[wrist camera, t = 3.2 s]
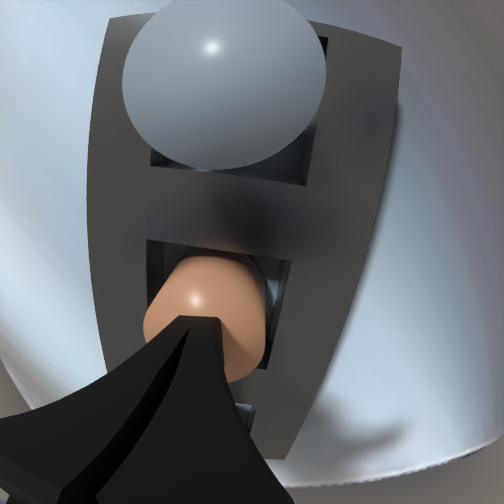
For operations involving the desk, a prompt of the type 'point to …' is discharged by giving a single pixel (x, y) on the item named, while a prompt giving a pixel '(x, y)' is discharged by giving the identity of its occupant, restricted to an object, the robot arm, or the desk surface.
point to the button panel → (246, 220)
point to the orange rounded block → (217, 304)
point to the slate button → (223, 80)
